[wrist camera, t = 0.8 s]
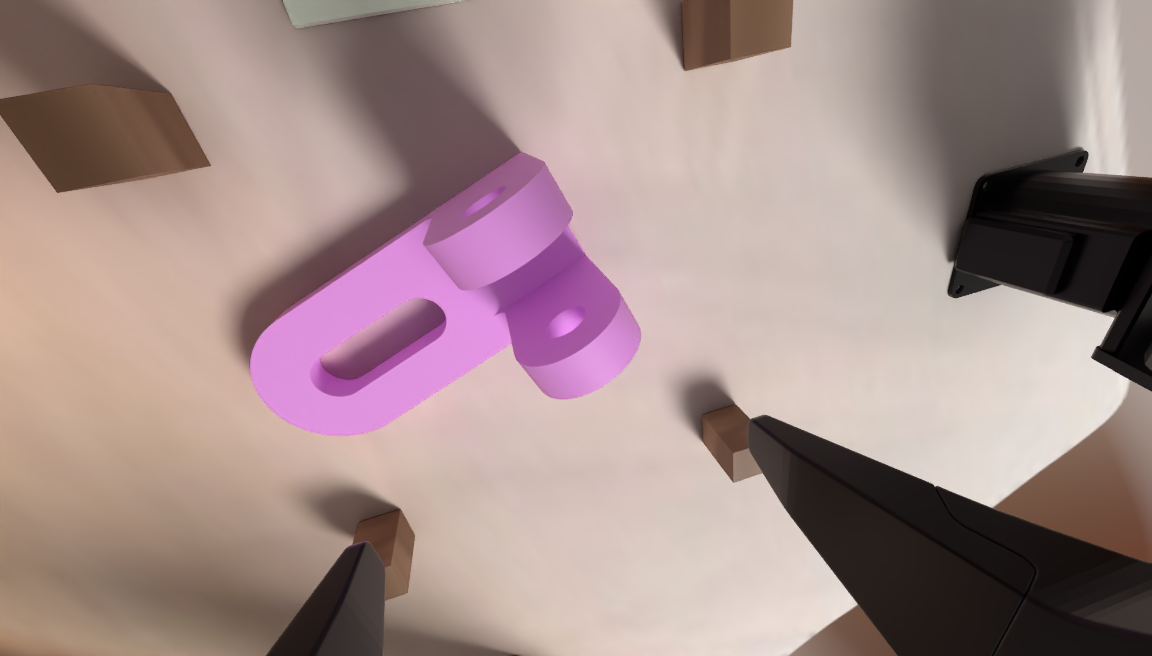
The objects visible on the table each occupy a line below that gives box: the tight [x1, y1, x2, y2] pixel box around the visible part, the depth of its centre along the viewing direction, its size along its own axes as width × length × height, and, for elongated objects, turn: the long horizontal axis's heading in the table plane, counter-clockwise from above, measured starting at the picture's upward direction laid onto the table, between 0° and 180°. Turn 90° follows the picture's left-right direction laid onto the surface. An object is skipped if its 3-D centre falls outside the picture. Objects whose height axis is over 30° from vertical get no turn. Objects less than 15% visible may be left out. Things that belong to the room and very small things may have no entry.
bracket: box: [250, 152, 641, 436], centre depth 14 cm, size 13×6×7 cm, turn 120°
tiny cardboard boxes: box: [0, 0, 793, 600], centre depth 16 cm, size 20×20×3 cm
